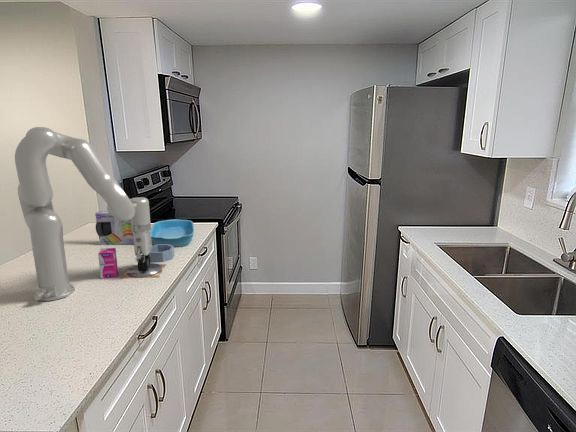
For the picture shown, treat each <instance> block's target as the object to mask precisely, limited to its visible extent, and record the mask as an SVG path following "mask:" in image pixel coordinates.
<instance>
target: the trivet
mask: <svg viewBox="0 0 576 432" xmlns="http://www.w3.org/2000/svg"><path fill="white" fill-rule="evenodd" d="M158 264H159V265H161V266H162V271H161V272H159V273H158V274H155V275H152V276H148V277H131V276H129V275H127V270H126V271H125V272H124V273H123V275H122V276H121V277H120V279H121V280H122V279H148V278H149V279H152V278H153V279H157V278H160V276H161V274H162V273H163V271H164V269H165V267H166V266H167V263H158ZM135 265H136V264H131V265H130V267H132V266H135ZM130 267H129V268H130Z"/></svg>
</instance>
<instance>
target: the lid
mask: <svg viewBox="0 0 576 432" xmlns="http://www.w3.org/2000/svg"><path fill="white" fill-rule="evenodd" d="M145 262H146V269H147V270H146V271H138V264H134V265H135V266H132V267H129V268H128V269H127V270H126V271H127V275H129V276H131V277H148V276H152V275H155V274H158V273H159V272H161V271H162V266H161V265H159V264H160V263H156V262H150V265H149V258H145ZM162 272H163V271H162Z"/></svg>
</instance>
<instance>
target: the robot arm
mask: <svg viewBox="0 0 576 432" xmlns="http://www.w3.org/2000/svg"><path fill="white" fill-rule="evenodd" d="M19 141H20V142H19V143H18V144H17V147H16V149H15V153H14V164H15V169H16V173H17V178H18V179H17V180H18V183H19V184H18V186H17V195H18V201H19V203H20V207H21V212H22V215H23V219H24V221H25V224H26V226H27V227H28V229H29V232H30V240H31V248H32V249H31V250H32V254H33V255H32V256H33V260H34V261H33V262H34V268H35V273H36V279H37V280H36V281H37V284H38V285H37V286H38V290H37V291H36V292H35V293H34V296H33V299H34V300H35V301H39V302H40V301H42V302H50V301H57V300H60V299H63V298H66V297H69V296H70V295H72V294H74V292H75V290H76V287H75V286H74V285H73V284H70V278H69V272H68V270H69V269H68V264H67V263H68V262H67V257H66V250H65V244H64V243H65V242H64V227H63V222H62V219H61V218H60V216H59V215H58V213H56V212H55V210H54V206H53V202H52V200H53V199H54V191H53V188H52V185H51V182H50V177H49V173H48V167H47V158H48V155H52V156H54V157H57V158H61V159H66V160H70V161H72V163H73V165H74V166H75V167H76V169H77V170H78V172H79V173H80V175H81V176H82V177H83V180H85V181H86V183H87V184H88V185H89V187H90V188H91V189H92V190H93V191H95V192H96V193H97V194H99V196H101V198H102V199H103V200H104V202H105V203H106V204H107V206H106V211H108V213H109V214H110V215H112V216H113V217H115V218H117V219H118V220H120V221H129V220H131V230H132V232H133V233H134V244H133V249H134V255H135V256H136V260H137V261H136V262H137V265H138V271H146V270H147V269H146V262H145V258H149V265H150V263H151V262H150V251H151V250H152V246H153V241H152V239H151V233H150V231H151V228H152V226H151V214H150V213H151V212H150V201H149V199H148V198H147V197H144V196H142V197H141V196H140V197H137V196H136V197H132V198H129V196H128V195H127V193H126V192H125V191H124V189H123V188H122V187H121V185H120V184H119V183H118V181H116V179H115V178H114V177H113V175H112V174H111V173H110V171H109V169H107V167H106V165H105V164H104V162H103V161H102V159H101V157H100V156H99V154H98V153H97V151H96V150H95V148H94V147H93V146H92V145H91V143H90V142H89V141H88V140H85V139H83V138H77V137H72V136H69V135H66V134H62V133H59V132H57V131H54V130H53V129H52V128H48V127H44V126H35V127H32V128H30V129H28V130H27V132H26V134H25V136H24V137H23V138H22V139H21V140H19Z"/></svg>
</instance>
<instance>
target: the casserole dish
mask: <svg viewBox="0 0 576 432" xmlns="http://www.w3.org/2000/svg"><path fill="white" fill-rule="evenodd" d="M150 233H151V240H152V244H153V245H157V244H169V245H172V246H174V248H179V247H187V246H188V245H189V244H191V242H192V240H193V237H194V233H195V226H194V222H193V221H192V220H188V219H179V218H178V219H176V218H175V219H166V220H159V221H156V222H154V223H152V226H151V231H150Z"/></svg>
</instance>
